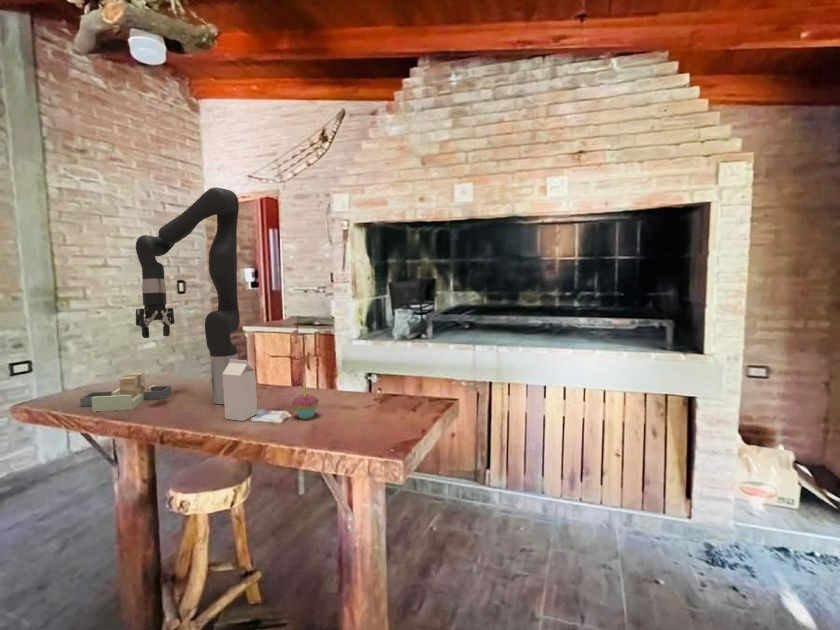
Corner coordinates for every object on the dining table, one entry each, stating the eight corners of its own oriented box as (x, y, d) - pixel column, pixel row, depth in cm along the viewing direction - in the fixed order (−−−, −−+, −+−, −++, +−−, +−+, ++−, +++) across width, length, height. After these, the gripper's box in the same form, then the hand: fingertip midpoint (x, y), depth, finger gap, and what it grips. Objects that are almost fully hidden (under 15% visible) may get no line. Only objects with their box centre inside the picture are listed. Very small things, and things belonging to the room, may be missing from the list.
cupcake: (318, 419, 159) (317, 383, 157) (291, 421, 158) (289, 384, 156) (319, 411, 167) (318, 376, 166) (293, 413, 166) (291, 377, 164)
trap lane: (101, 394, 192) (100, 381, 191) (174, 390, 196) (174, 378, 195) (70, 413, 169) (68, 398, 168) (153, 408, 173) (152, 394, 172)
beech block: (131, 393, 193) (130, 372, 192) (145, 392, 194) (144, 372, 193) (120, 400, 183) (119, 379, 182) (135, 399, 184) (133, 378, 183)
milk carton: (243, 421, 158) (239, 362, 156) (225, 419, 161) (221, 361, 158) (257, 414, 165) (254, 358, 162) (240, 412, 167) (236, 357, 165)
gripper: (144, 291, 171) (147, 338, 171) (178, 291, 184) (180, 335, 184) (128, 292, 173) (131, 338, 174) (163, 292, 187) (165, 335, 187)
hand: (156, 337), depth 179 cm, fingers open, 8 cm apart
